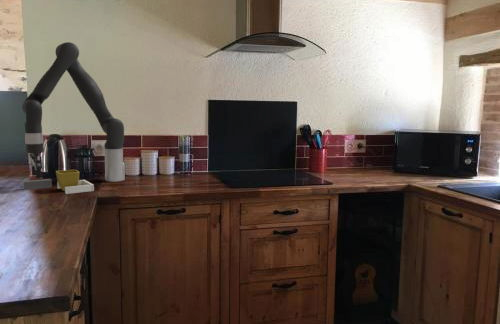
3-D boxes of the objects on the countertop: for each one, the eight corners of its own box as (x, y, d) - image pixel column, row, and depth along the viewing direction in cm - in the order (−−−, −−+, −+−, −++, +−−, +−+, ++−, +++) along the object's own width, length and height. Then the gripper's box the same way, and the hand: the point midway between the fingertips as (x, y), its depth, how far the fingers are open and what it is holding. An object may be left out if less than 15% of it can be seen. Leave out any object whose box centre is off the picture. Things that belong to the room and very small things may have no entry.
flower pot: (60, 192, 186) (59, 173, 185) (56, 189, 193) (55, 170, 192) (80, 190, 191) (79, 171, 190) (76, 187, 198) (75, 169, 197)
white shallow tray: (84, 185, 203) (84, 179, 203) (93, 190, 192) (93, 184, 191) (57, 188, 196) (57, 182, 195) (65, 193, 184) (65, 187, 184)
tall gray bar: (50, 186, 200) (50, 178, 200) (52, 187, 198) (51, 179, 197) (23, 189, 193) (22, 181, 192) (24, 190, 191) (23, 182, 190)
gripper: (46, 143, 189) (48, 177, 191) (39, 141, 200) (42, 173, 202) (28, 144, 184) (31, 179, 187) (22, 141, 195) (25, 175, 198)
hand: (36, 176), depth 194 cm, fingers open, 8 cm apart
